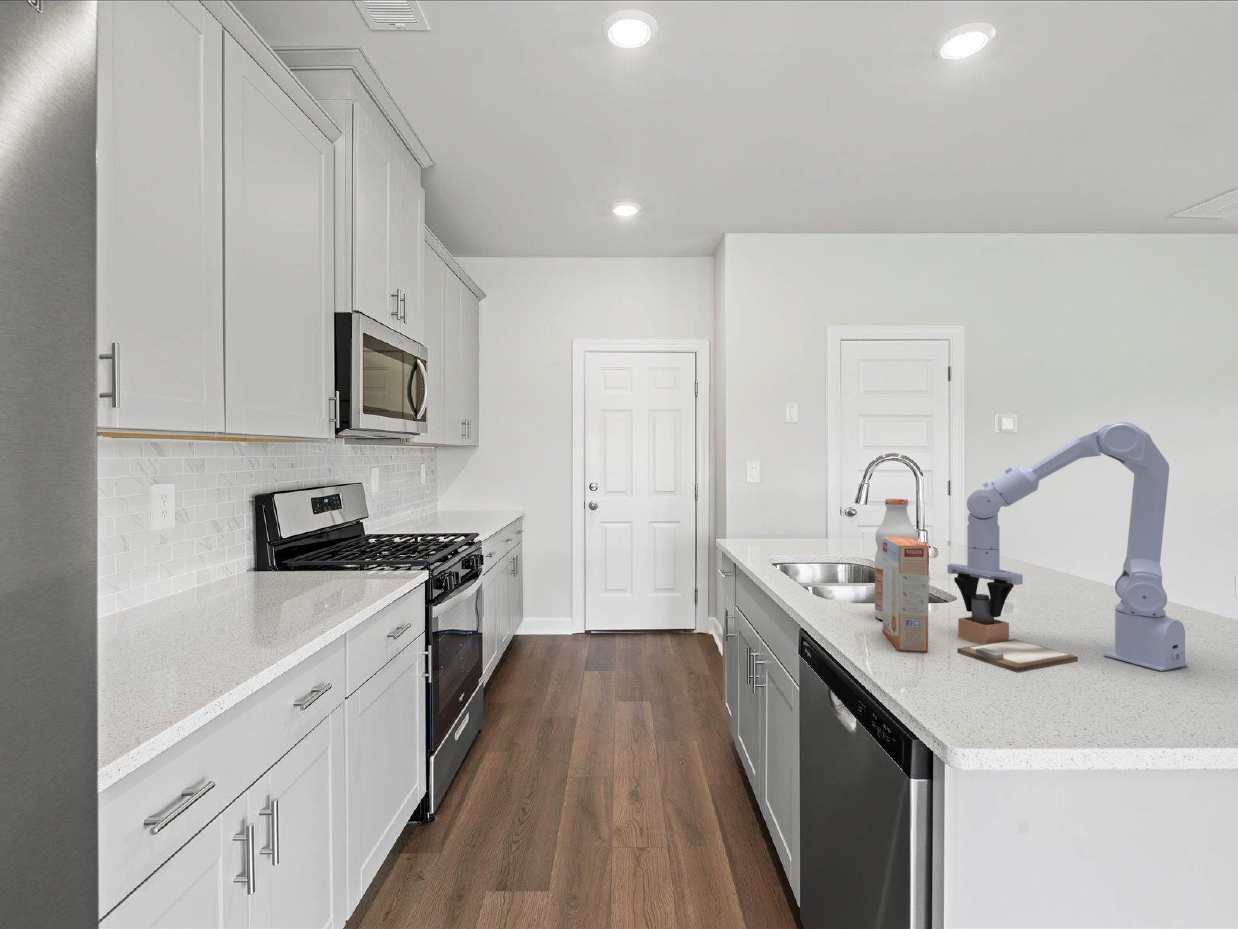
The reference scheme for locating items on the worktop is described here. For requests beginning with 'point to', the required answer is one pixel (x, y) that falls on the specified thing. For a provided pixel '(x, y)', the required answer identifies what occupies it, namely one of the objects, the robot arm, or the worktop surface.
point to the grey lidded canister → (981, 609)
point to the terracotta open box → (982, 631)
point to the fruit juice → (891, 526)
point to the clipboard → (1017, 655)
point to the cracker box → (906, 593)
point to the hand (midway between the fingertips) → (983, 613)
